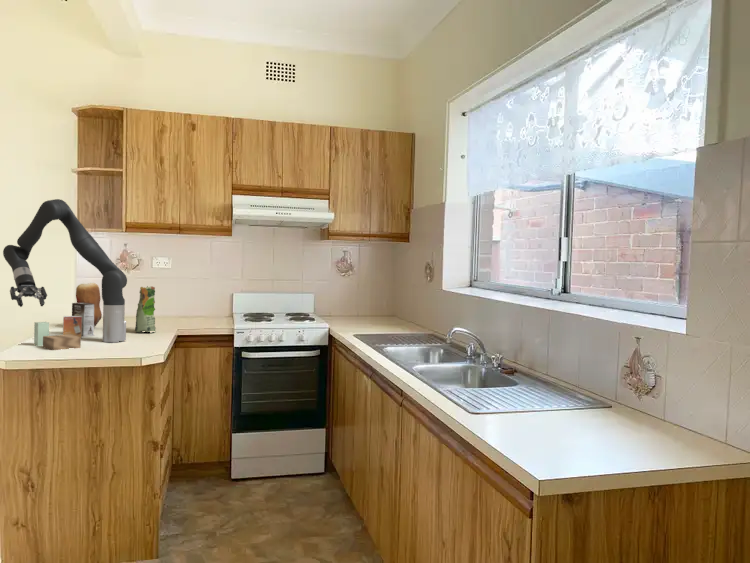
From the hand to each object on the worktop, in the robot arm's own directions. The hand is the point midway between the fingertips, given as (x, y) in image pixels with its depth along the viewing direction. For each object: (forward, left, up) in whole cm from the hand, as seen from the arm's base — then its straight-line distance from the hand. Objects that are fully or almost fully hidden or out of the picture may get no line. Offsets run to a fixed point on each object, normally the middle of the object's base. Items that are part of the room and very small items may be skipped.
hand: (32, 305), depth 265 cm
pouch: (-56, -4, -17) cm, 59 cm away
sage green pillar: (0, +12, -17) cm, 20 cm away
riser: (-4, +24, -17) cm, 29 cm away
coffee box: (-27, -12, -17) cm, 34 cm away
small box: (-19, -4, -17) cm, 26 cm away
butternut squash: (-40, -37, -17) cm, 57 cm away
